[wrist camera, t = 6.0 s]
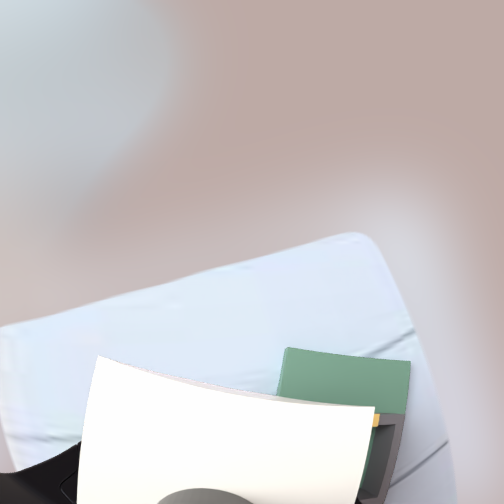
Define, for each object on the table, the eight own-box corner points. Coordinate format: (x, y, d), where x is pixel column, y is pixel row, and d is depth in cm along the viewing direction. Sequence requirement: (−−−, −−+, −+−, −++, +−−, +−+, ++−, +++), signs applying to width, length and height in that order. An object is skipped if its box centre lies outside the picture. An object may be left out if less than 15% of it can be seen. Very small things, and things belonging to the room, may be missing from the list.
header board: (367, 526, 13) (388, 541, 9) (243, 530, 13) (247, 554, 10) (403, 362, 22) (431, 355, 18) (284, 349, 22) (298, 340, 18)
